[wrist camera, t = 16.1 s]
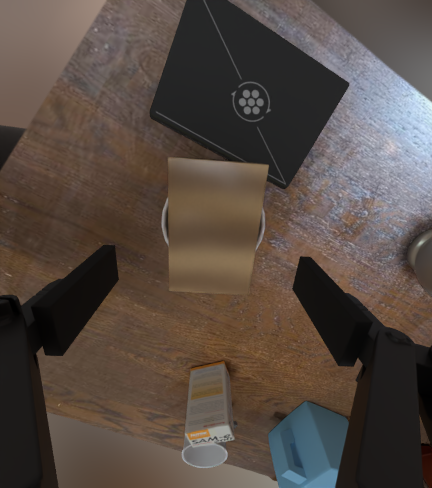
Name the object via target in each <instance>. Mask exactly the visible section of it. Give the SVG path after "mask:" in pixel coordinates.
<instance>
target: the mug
mask: <svg viewBox="0 0 432 488" xmlns="http://www.w3.org/2000/svg"><path fill="white" fill-rule="evenodd" d="M421 453H422V469H423V480H424V481H425V483H426V484H427V486H428V488H432V447H431V446H428V445H421Z"/></svg>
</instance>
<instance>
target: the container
mask: <svg viewBox="0 0 432 488" xmlns="http://www.w3.org/2000/svg"><path fill="white" fill-rule="evenodd" d="M348 425H349V422H348V420H347V419H346V417H344V416H341V415H339V414H337V413H335V412H332V411H330V410H328V409H325V408H323V407H320V406H318V405H315V404H313V403H310V402H308V401H305V402H304V403H302V404H301V405H300V406H298V407H297V408H296V409H295V410H294V411H292V412H291V413H290V414H289V415H288V416H287V417H285V418H284V419H283V420H282V421H281V422H280V423H279V424H278V425H277V426H276V427H275V428H274V429H273V430H272V431H271V432H270V433H269V434H268V436H269V445H270V450H271V455H272V460H273V464H274V469H275V473H276V477H277V481H278V485H279V488H335V484H336V480H337V475H338V471H339V466H340V462H341V457H342V452H343V448H344V443H345V439H346V434H347V429H348Z"/></svg>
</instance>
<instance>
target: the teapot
mask: <svg viewBox="0 0 432 488" xmlns="http://www.w3.org/2000/svg"><path fill="white" fill-rule="evenodd" d="M407 261H408V263H409V265H410V267H411V268H412V269H414V270H415V272H416V276H417V279H418V281H419V283H420V285H421V286H422V288H423V289H424V290H425V291H426V292H427V293H428V294H429V295H430V296H431V297H432V229H430V230H427V231H425V232H423V233H422V234H420V235H419V236H418V237H417V238H416V239H415V240H414V241H413V242H412V243H411V245H410V247H409V249H408V252H407Z"/></svg>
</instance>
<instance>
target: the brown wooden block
mask: <svg viewBox="0 0 432 488" xmlns="http://www.w3.org/2000/svg"><path fill="white" fill-rule="evenodd" d="M268 168H269V165H267V164H262V163H249V162H236V161H224V160H211V159H199V158H186V157H168V233H169V291H180V292H197V293H215V294H232V295H249V289H250V283H251V277H252V270H253V264H254V257H255V251H256V245H257V238H258V232H259V225H260V219H261V213H262V206H263V200H264V194H265V187H266V181H267V174H268Z"/></svg>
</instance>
